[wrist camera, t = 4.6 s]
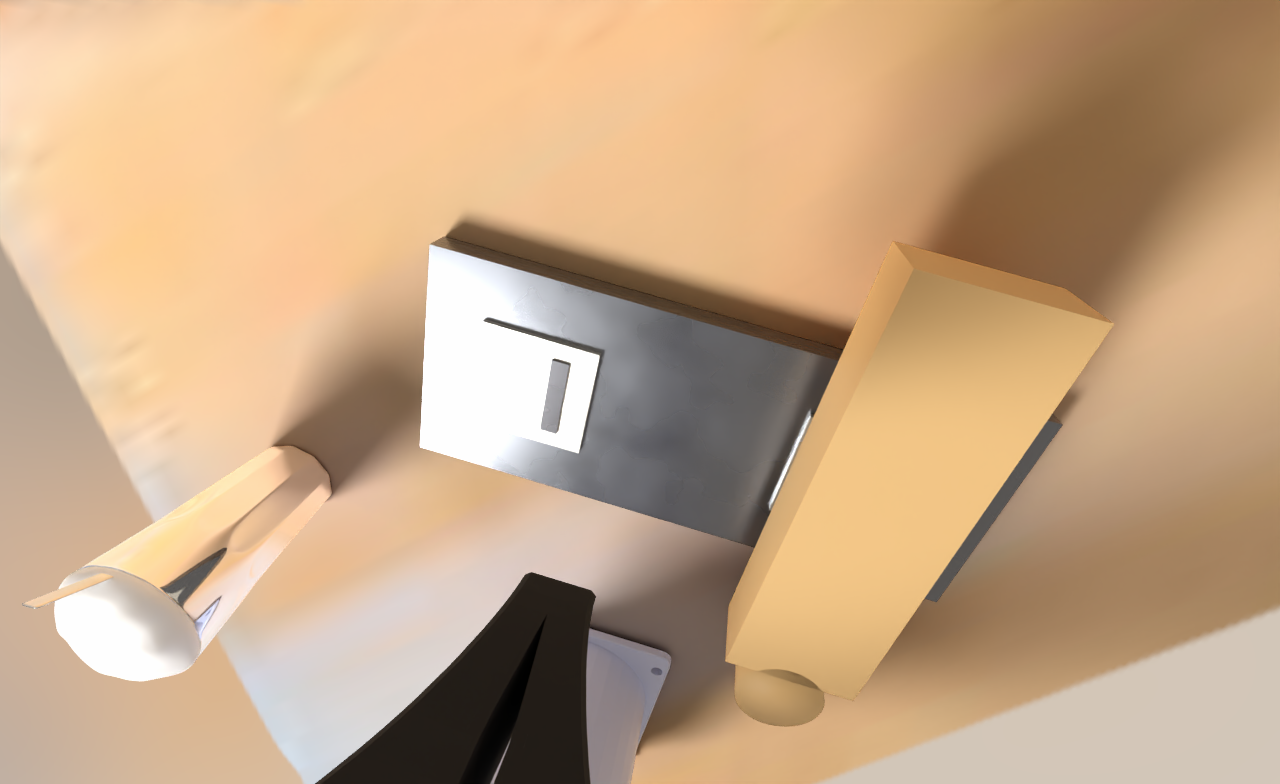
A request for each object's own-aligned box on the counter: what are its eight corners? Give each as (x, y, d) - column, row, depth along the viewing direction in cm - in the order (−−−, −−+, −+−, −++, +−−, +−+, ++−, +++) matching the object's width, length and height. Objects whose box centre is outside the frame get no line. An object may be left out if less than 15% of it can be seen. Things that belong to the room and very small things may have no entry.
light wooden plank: (819, 681, 23) (824, 742, 21) (709, 647, 23) (704, 704, 21) (1065, 288, 15) (1114, 324, 13) (892, 240, 15) (914, 268, 13)
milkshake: (339, 427, 24) (106, 627, 16) (351, 526, 27) (158, 743, 18) (236, 404, 25) (-48, 585, 16) (259, 503, 27) (26, 705, 19)
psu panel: (929, 581, 23) (938, 608, 22) (432, 432, 24) (415, 451, 22) (1048, 408, 19) (1067, 430, 18) (444, 236, 20) (424, 246, 18)
